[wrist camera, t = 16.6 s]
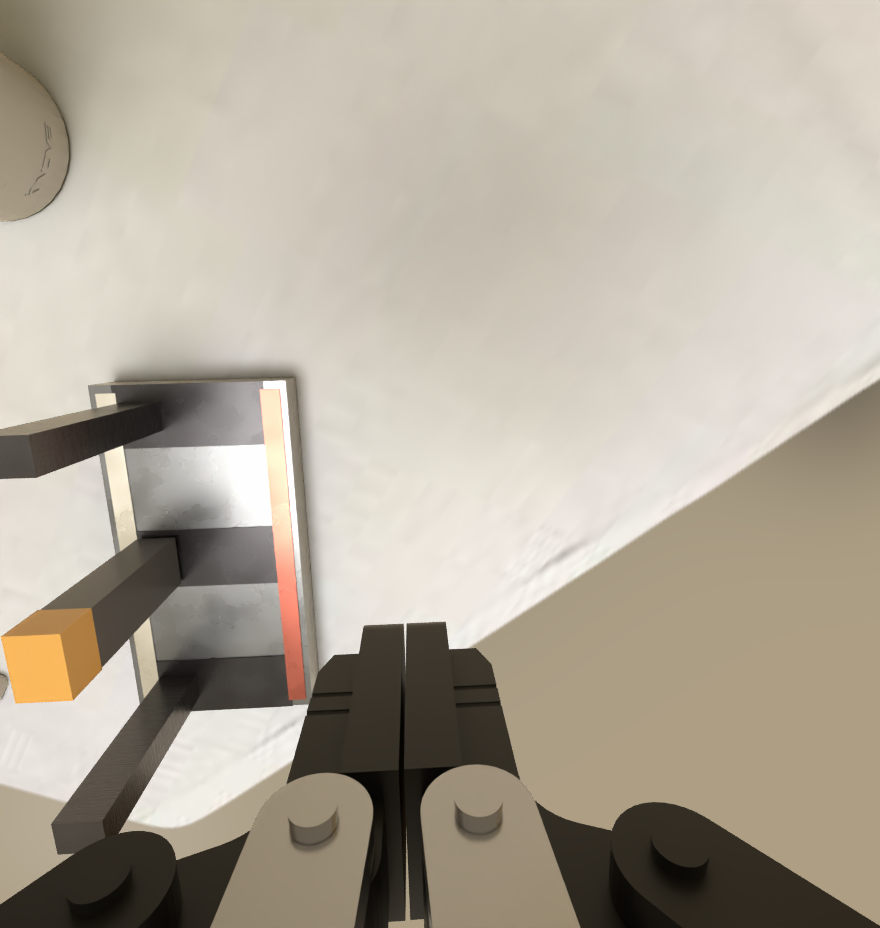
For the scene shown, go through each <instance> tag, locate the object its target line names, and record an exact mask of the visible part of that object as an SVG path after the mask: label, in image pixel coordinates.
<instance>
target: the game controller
mask: <svg viewBox="0 0 880 928" xmlns="http://www.w3.org/2000/svg"><path fill="white" fill-rule="evenodd" d="M7 686H8V679H7V678H6V677H5V676H4V675H1V674H0V700H1V698H2V696H3V694H4V692H5V690H6V688H7Z"/></svg>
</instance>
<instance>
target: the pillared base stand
mask: <svg viewBox="0 0 880 928" xmlns="http://www.w3.org/2000/svg"><path fill="white" fill-rule="evenodd" d="M88 389H89V395H90V401H91V407H92V409H90V410H85V411H81V412H76V413H72V414H67V415H63V416H58V417H54V418H49V419H45V420H40V421H36V422H31V423H27V424H22V425H18V426H13V427H9V428H4V429H0V479H10V478H37V477H40V476H42V475H45V474H48V473H50V472H53V471H56V470H58V469H61V468H64V467H66V466H69V465H72V464H75V463H77V462H80V461H83V460H85V459H88V458H91V457H93V456H96V455H99V456H100V462H101V468H102V474H103V481H104V487H105V493H106V499H107V505H108V511H109V517H110V523H111V530H112V536H113V542H114V548H115V554H118V553H119V552H120V551H122V550H123V549H124V548H126V547H127V546H128V545H130V544H131V543H133V542H134V541H135V540H137V539H151V538H175V541H176V548H177V555H178V563H179V570H180V577H181V584H180V585H179V586H178V587H177V588H176V589H175V590H174V591H173V592H172V594H171V595H170V596H169V597H168V598H167V599H166V600H165V601H164V602H163V603H162V604H161V605H160V606H159V607H158V608H157V609H156V611H155V612H154V613H153V614H152V615H151V616H150V617H149V618H148V619H147V620H146V621H145V622H144V623H143V624H142V625H141V626H140V628H139V629H138V630H137V631H136V632H135V633H134V634H133V635H132V636H131V637H130V638H129V640H130V646H131V652H132V658H133V664H134V670H135V677H136V683H137V689H138V695H139V701H140V705H139V706H138V708H137V709H136V711H135V712H134V713H133V715H132V716H131V717H130V719H129V720H128V721H127V723H126V724H125V725H124V727H123V728H122V729H121V731H120V732H119V733H118V735H117V736H116V737H115V739H114V740H113V742H112V743H111V744H110V746H109V747H108V748H107V750H106V751H105V752H104V754H103V755H102V756H101V758H100V759H99V760H98V762H97V763H96V764H95V766H94V767H93V768H92V770H91V771H90V772H89V774H88V775H87V777H86V778H85V779H84V781H83V782H82V783H81V785H80V786H79V787H78V789H77V790H76V791H75V793H74V794H73V795H72V797H71V798H70V799H69V801H68V802H67V803H66V805H65V806H64V808H63V809H62V810H61V812H60V813H59V814H58V816H57V817H56V818H55V820H54V821H53V822H52V824H51V826H52V830H53V834H54V839H55V844H56V848H57V853H58V854H72V853H73V854H74V853H77V852H78V851H80V850H81V849H83V848H85V847H87V846H89V845H91V844H93V843H94V842H96V841H99V840H101V839H104V838H106V837H109V836H112V835H116V834H119V831H120V830H121V828H122V827H123V825H124V823H125V822H126V820H127V818H128V817H129V815H130V813H131V812H132V810H133V808H134V807H135V805H136V803H137V801H138V800H139V798H140V796H141V795H142V793H143V791H144V790H145V788H146V786H147V785H148V783H149V781H150V779H151V778H152V776H153V774H154V773H155V771H156V769H157V768H158V766H159V764H160V763H161V761H162V759H163V758H164V756H165V754H166V752H167V751H168V749H169V747H170V746H171V744H172V742H173V741H174V739H175V737H176V736H177V734H178V732H179V731H180V729H181V727H182V725H183V724H184V722H185V720H186V719H187V717H188V715H189V714H190V712H191V711H203V710H223V709H242V708H262V707H282V706H293V705H304V704H309V702H310V699H311V698H312V692H313V688H314V684H315V681H316V677H317V674H318V672H319V669H318V656H317V643H316V631H315V618H314V606H313V593H312V580H311V568H310V555H309V543H308V530H307V517H306V505H305V492H304V480H303V467H302V454H301V442H300V429H299V417H298V404H297V391H296V379H295V377H288V378H248V379H207V380H167V381H127V382H109V383H102V384H95V385H89V386H88Z"/></svg>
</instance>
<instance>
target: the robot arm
mask: <svg viewBox="0 0 880 928" xmlns="http://www.w3.org/2000/svg"><path fill="white" fill-rule="evenodd" d="M68 160H69V148H68V137H67V133H66V129H65V125H64V121H63V119H62V117H61V115H60V112H59V110H58V108H57V106H56V104H55V102H54V101H53V99H52V98H51V97H50V95H49V94H48V92H47V91H46V89H45V88H44V87H43V86H42V85H41V84H40V83H39V82H38V81H37V80H36V79H35V78H34V77H33V76H32V75H31V74H30V73H28V72H27V71H25V70H24V69H23V68H21V67H20V66H18V65H17V64H16V63H14V62H13V61H11V60H10V59H8V58H7V57H6V56H4V55H3V54H1V53H0V221H13V220H18V219H23V218H26V217H29V216H31V215H33V214H35V213H37V212H39V211H40V210H41V209H43V208H44V207H45V206H46V205H47V204H49V203H50V202H51V201H52V200H53V198H54V197H55V195H56V194H57V193H58V191H59V190H60V188H61V186H62V183H63V181H64V178H65V176H66V172H67V166H68ZM406 826H407V849H408V871H409V872H408V873H409V896H410V919H411V920H415V919H424V928H880V926H879V925H877V924H876V923H874V922H873V921H871V920H869V919H868V918H866V917H865V916H863V915H861V914H860V913H858V912H857V911H855V910H853V909H852V908H850V907H849V906H847V905H845V904H844V903H842V902H841V901H839V900H837V899H836V898H834V897H832V896H831V895H829V894H828V893H826V892H825V891H823V890H821V889H820V888H818V887H816V886H815V885H813V884H812V883H810V882H808V881H807V880H805V879H804V878H802V877H800V876H799V875H797V874H796V873H794V872H792V871H791V870H789V869H788V868H786V867H784V866H783V865H781V864H780V863H778V862H776V861H775V860H773V859H772V858H770V857H768V856H767V855H765V854H764V853H762V852H760V851H759V850H757V849H756V848H754V847H752V846H751V845H749V844H747V843H746V842H744V841H743V840H741V839H739V838H738V837H736V836H735V835H733V834H731V833H730V832H728V831H727V830H725V829H723V828H722V827H720V826H718V825H717V824H715V823H714V822H712V821H710V820H709V819H707V818H706V817H704V816H702V815H700V814H698V813H696V812H694V811H692V810H689V809H687V808H684V807H681V806H678V805H674V804H668V803H659V802H658V803H657V802H651V803H643V804H639V805H636V806H633V807H631V808H629V809H627V810H626V811H625V812H624V813H622V814H621V815H620V816H619V818H618V819H617V820H616V822H615V824H614V827H613V829H612V831H611V830H606V829H602V828H597V827H593V826H589V825H585V824H580V823H576V822H573V821H570V820H566V819H564V818H562V817H559V816H557V815H555V814H553V813H552V812H550V811H548V810H546V809H545V808H544V807H542V806H541V805H540V804H538V803H537V802H536V801H535V800H534V798H533V796H532V794H531V792H530V791H529V790H528V788H527V787H526V786H525V785H524V784H523V783H522V782H521V781H520V778H519V775H518V771H517V767H516V763H515V759H514V755H513V751H512V747H511V743H510V738H509V734H508V730H507V726H506V723H505V718H504V714H503V710H502V706H501V703H500V697H499V693H498V689H497V688H496V682H495V677H494V673H493V669H492V665H491V664H490V662H489V661H488V660H487V659H486V658H485V657H484V656H483V655H482V654H481V653H480V652H479V651H478V650H477V649H476V648H470V649H449V645H448V637H447V629H446V622H429V623H407V635H406V667H405V642H404V625H403V624H388V625H365V626H364V628H363V633H362V639H361V645H360V651H359V654H345V655H334V656H333V657H332V658H331V659H330V660H329V661H328V662H327V664H326V665H325V666H324V667H323V668H322V669H321V670H320V671H319V672H318V674H317V677H316V681H315V684H314V688H313V692H312V698H311V699H310V702H309V706H308V709H307V716H305V720H304V724H303V727H302V731H301V734H300V738H299V741H298V745H297V748H296V752H295V756H294V759H293V763H292V767H291V770H290V773H289V777H288V781H287V784H286V785H285V786H283V787H282V788H280V789H279V790H278V791H276V792H275V793H274V794H273V795H272V796H271V797H270V798H269V799H268V800H267V801H266V802H265V803H264V805H263V806H262V807H261V809H260V810H259V812H258V814H257V817H256V818H255V821H254V823H253V825H252V828H251V830H250V831H248V832H247V833H245V834H244V835H242V836H240V837H238V838H236V839H234V840H232V841H230V842H228V843H225V844H222V845H220V846H217V847H214V848H211V849H208V850H205V851H202V852H199V853H197V854H194V855H191V856H188V857H185V858H182V859H179V860H176V857H175V853H174V850H173V848H172V846H171V844H170V843H169V842H168V841H167V840H166V839H165V838H163V837H162V836H160V835H158V834H155V833H152V832H146V831H131V832H125V833H120V834H116V835H112V836H109V837H106V838H104V839H101V840H99V841H96V842H94V843H93V844H91V845H89V846H87V847H85V848H83V849H81V850H80V851H78V852H77V853H75V854H74V855H72V856H71V857H69V858H68V859H66V860H65V861H63V862H62V863H60V864H59V865H57V866H56V867H54V868H53V869H51V870H50V871H49V872H47V873H46V874H44V875H43V876H41V877H40V878H38V879H37V880H35V881H34V882H33V883H31V884H30V885H28V886H27V887H25V888H24V889H22V890H21V891H19V892H18V893H17V894H15V895H14V896H12V897H11V898H9V899H8V900H6V901H5V902H3V903H2V904H0V928H388V922H391V921H405V907H406Z"/></svg>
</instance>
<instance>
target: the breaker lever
mask: <svg viewBox="0 0 880 928" xmlns="http://www.w3.org/2000/svg"><path fill="white" fill-rule="evenodd" d="M180 584H181V577H180V570H179V563H178V555H177V548H176V541H175V538H151V539H137V540H135V541H134V542H133V543H131V544H130V545H128V546H127V547H126V548H124V549H123V550H122V551H120V552H119V553H118V554H116V555H115V556H113V557H112V558H111V559H109V560H108V561H107V562H105V563H104V564H102V565H101V566H100V567H98V568H97V569H96V570H94V571H93V572H92V573H90V574H89V575H87V576H86V577H85V578H83V579H82V580H81V581H79V582H78V583H76V584H75V585H74V586H72V587H71V588H70V589H68V590H67V591H66V592H64V593H63V594H61V595H60V596H59V597H57V598H56V599H55V600H53V601H52V602H51V603H49V604H48V605H46V606H45V607H44V608H42V609H41V610H37V611H36V612H34V613H33V614H32V615H30V616H29V617H27V618H26V619H25V620H23V621H22V622H21V623H19V624H18V625H16V626H15V627H14V628H12V629H11V630H10V631H8V632H7V633H5V634H4V635H3V636H1V640H2V644H3V649H4V653H5V658H6V662H7V667H8V671H9V676H10V680H11V685H12V689H13V694H14V698H15V703H34V702H54V701H73V700H74V699H75V698H76V697H77V696H78V695H79V694H80V692H81V691H82V690H83V689H84V688H85V687H86V686H87V685H88V684H89V683H90V682H91V681H92V680H93V679H94V678H95V676H96V675H97V674H98V673H99V672H100V671H101V670H102V667H103V666H104V665H105V664H106V663H107V662H108V660H109V659H110V658H111V657H112V656H113V655H114V654H115V653H116V652H117V651H118V650H119V649H120V648H121V647H122V646H123V645H124V643H125V642H126V641H127V640H128V639H129V638H130V637H131V636H132V635H133V634H134V633H135V632H136V631H137V630H138V629H139V628H140V626H141V625H142V624H143V623H144V622H145V621H146V620H147V619H148V618H149V617H150V616H151V615H152V614H153V613H154V612H155V611H156V609H157V608H158V607H159V606H160V605H161V604H162V603H163V602H164V601H165V600H166V599H167V598H168V597H169V596H170V595H171V594H172V592H173V591H174V590H175V589H176V588H177V587H178V586H179V585H180Z"/></svg>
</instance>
